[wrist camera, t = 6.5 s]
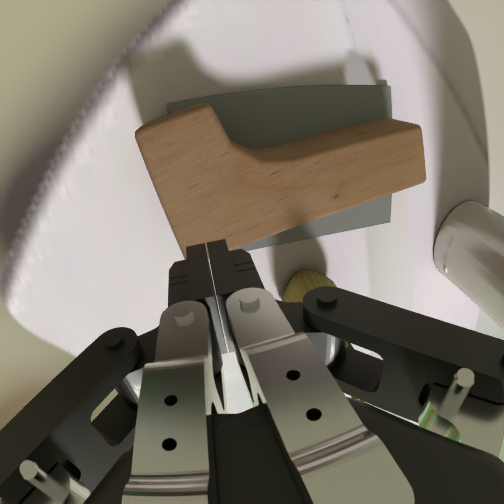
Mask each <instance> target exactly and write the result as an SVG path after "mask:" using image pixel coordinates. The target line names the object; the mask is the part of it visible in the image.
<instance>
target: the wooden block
mask: <svg viewBox="0 0 504 504" xmlns="http://www.w3.org/2000/svg"><path fill="white" fill-rule="evenodd" d="M135 139H136V141H137V144H138V147H139V149H140V152H141V154H142V157H143V160H144V162H145V165H146V167H147V170H148V172H149V175H150V177H151V180H152V182H153V185H154V187H155V190H156V192H157V195H158V197H159V200H160V202H161V204H162V207H163V209H164V212H165V214H166V216H167V219H168V221H169V224H170V226H171V228H172V231H173V233H174V235H175V238H176V240H177V242H178V244H179V247H180V249H181V251H182V254H183V256H184V258H185V260H187V258H186V247H187V246H192V245H197V244H202V243H205V246H206V251H207V256H208V258H209V254H208V248H207V243H206V242H211V241H216V240H221V239H225V240H226V243H227V246H228V249H229V250H232V249H235V248H237V247H240V246H243V245H246V244H249V243H252V242H254V241H257V240H260V239H263V238H266V237H269V236H271V235H274V234H277V233H280V232H283V231H285V230H288V229H291V228H294V227H297V226H300V225H302V224H305V223H308V222H311V221H314V220H317V219H320V218H322V217H325V216H328V215H331V214H334V213H337V212H340V211H343V210H345V209H348V208H351V207H354V206H357V205H360V204H363V203H366V202H369V201H371V200H374V199H377V198H380V197H383V196H386V195H389V194H392V193H395V192H397V191H401V190H403V189H406V188H409V187H412V186H415V185H418V184H421V183H424V182H425V180H426V171H425V158H424V148H423V138H422V130H421V127H420V126H419V125H417V124H413V123H408V122H404V121H399V120H395V119H390V118H384V119H379V120H375V121H370V122H366V123H362V124H358V125H353V126H349V127H345V128H341V129H337V130H334V131H330V132H326V133H322V134H318V135H315V136H311V137H307V138H304V139H300V140H297V141H293V142H290V143H286V144H283V145H280V146H276V147H263V148H247V147H245V146H243V145H241V144H239V143H237V142H235V141H233V140H231V139H229V137H228V135H227V133H226V131H225V130H224V128H223V126H222V124H221V122H220V120H219V118H218V117H217V115H216V113H215V111H214V109H213V108H212V107H211V106H210V105H209V104H203V103H199V104H196V105H193V106H190V107H188V108H185V109H182V110H179V111H176V112H174V113H171V114H168V115H166V116H163V117H160V118H158V119H155V120H153V121H150V122H147V123H146V124H144V125H143V126H141V127H140V128H139V129H137V130H136V131H135Z"/></svg>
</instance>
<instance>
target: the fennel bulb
mask: <svg viewBox="0 0 504 504" xmlns="http://www.w3.org/2000/svg"><path fill="white" fill-rule="evenodd" d="M322 286H332V287H336V285H335V284H334V282H333V281H331V280H330V279H329V278H328V277H326V276H325V275H323V274H320V273H318V272H316V271H312V270H301V271H298V272H296V274H295V275H293V277H292V279H291V281H290V283H289V284H288V285H287V288H286V290H285V292H284V294H283V298H282V302H303V297H304V295H305V294H306V293H307V292H308V291H310V290H312V289H314V288H317V287H322ZM347 347H350V348H352V349H354V348H353V347H352V345H351V343H350V342H348V345H347ZM351 397H352V398H353V399H356V400H360V399H357V398H355V397H353V396H351ZM360 401H362V400H360ZM363 402H365V401H363Z"/></svg>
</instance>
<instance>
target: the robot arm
mask: <svg viewBox="0 0 504 504" xmlns="http://www.w3.org/2000/svg"><path fill="white" fill-rule="evenodd" d="M206 243H207V248H208V254H209V259H210V265H211V270H212V275H213V280H212V275H211V270H210V265H209V261H208V256H207V251H206V246H205V243H202V244H197V245H192V246H187V247H186V258H187V260H182V261H177V262H174V264H173V265H172V267H171V268H170V269H169V287H168V308H167V309H166V310H165V311H164V312H163V313H162V315H161V318H160V324H159V326H158V327H157V328H155V329H153V330H151V331H149V332H147V333H144V334H142V335H140V336H137V335H136V333H135V332H134V331H133V330H132V329H130V328H126V327H119V328H114V329H111V330H108V331H106V332H105V333H103V334H102V335H101V336H99V337H98V338H97V339H96V340H95V341H94V342H93V343H92V344H91V345H89V346H88V347H87V348H86V349H85V350H84V351H83V352H82V353H81V354H80V355H79V356H78V357H76V358H75V359H74V360H73V361H72V362H71V363H70V364H69V365H68V366H67V367H66V368H65V369H64V370H62V372H60V374H58V375H57V376H56V377H55V378H54V379H53V380H52V381H51V382H50V383H49V384H48V385H47V386H46V387H45V388H43V389H42V391H40V392H39V393H38V394H37V395H36V396H35V397H34V398H33V399H32V400H31V401H30V402H29V403H28V404H27V405H26V406H25V407H24V408H23V409H22V410H21V411H20V412H19V413H18V414H17V415H16V416H15V417H14V418H13V419H12V420H11V421H10V422H9V423H8V424H7V425H6V426H5V427H4V428H3V429H2V430H1V431H0V504H504V463H503V461H501V460H500V459H499V458H498V455H499V452H500V449H501V445H502V441H503V437H504V340H501V339H498V338H495V337H492V336H489V335H485V334H482V333H479V332H476V331H473V330H469V329H466V328H463V327H460V326H457V325H453V324H450V323H447V322H444V321H441V320H438V319H434V318H431V317H428V316H425V315H422V314H419V313H415V312H412V311H409V310H406V309H403V308H400V307H396V306H393V305H390V304H387V303H384V302H381V301H378V300H375V299H372V298H368V297H365V296H362V295H359V294H356V293H353V292H350V291H347V290H344V289H340V288H337V287H332V286H322V287H317V288H314V289H312V290H310V291H308V292H307V293H306V294H305V295H304V297H303V302H282V301H278V300H276V299H274V297H273V295H272V294H271V293H270V292H269V291H267V290H265V288H264V286H263V284H262V281H261V279H260V277H259V274H258V272H257V270H256V267H255V265H254V263H253V260H252V258H251V256H250V254H249V253H248V252H246V251H245V250H243V249H237V250H232V251H229V249H228V246H227V243H226V240H225V239H221V240H216V241H211V242H206ZM434 262H435V265H436V268H437V269H438V270H439V272H440V273H442V274H443V275H444V276H445V277H446V278H448V279H449V280H450V281H451V282H452V283H453V284H454V285H456V286H457V287H458V288H459V289H460V290H461V291H462V292H463V293H464V294H466V295H467V296H468V297H469V298H470V299H471V300H472V301H473V302H474V303H476V304H477V305H478V306H479V307H480V308H481V309H482V310H483V311H484V312H485V313H486V314H487V315H488V316H490V317H491V318H492V319H493V320H494V321H495V322H496V323H497V324H498V325H499V326H500V327H501V328H502V329H503V330H504V216H502V215H501V214H499V213H497V212H495V211H493V210H492V209H490V208H488V207H486V206H484V205H482V204H481V203H479V202H477V201H472V200H471V201H466V202H464V203H461V204H460V205H458V206H457V207H456V208H455V209H454V210H453V211H452V212H451V213H450V214H449V215H448V217H447V218H446V219H445V221H444V222H443V224H442V226H441V228H440V230H439V233H438V235H437V238H436V242H435V246H434ZM213 281H214V284H213ZM214 286H215V289H214ZM215 291H216V294H215ZM216 296H217V299H216ZM217 300H218V304H217ZM218 305H219V310H220V314H221V318H222V323H223V327H224V332H225V336H226V340H227V344H228V349H229V352H234V351H235V352H236V356H237V360H238V365H239V369H240V372H241V375H242V378H243V381H244V383H245V386H246V389H247V392H248V394H249V397H250V400H251V403H252V405H253V408H251V409H249V410H246V411H244V412H242V413H238V414H227V405H226V395H225V384H224V374H223V369H222V365H223V362H222V357H221V354H224V353H227V349H226V344H225V339H224V334H223V329H222V325H221V320H220V315H219V310H218ZM348 342H350V343H352V344H355V345H357V346H360V347H363V348H365V349H368V350H371V351H373V352H376V353H377V354H379V355H380V356H381V357H382V358H383V360H381V359H378V358H375V357H373V356H370V355H368V354H365V353H362V352H360V351H357V350H355V349H352V348H350V347H347V345H348ZM114 388H115V389H116V391H117V392H118V395H117V396H116V397H115V398H114V399H113V400H112V401H111V402H110V403H109V404H108V405H107V406H106V407H105V409H104V410H103V411H102V412H101V413H100V414H99V415H98V416H97V417H96V418H95V419H94V420H93V421H92V422H91V415H92V413H93V411H94V410H95V408H96V407H97V406H98V405H99V404H100V403H101V402H102V401H103V400H104V399H105V398H106V397H107V396H108V395H109V394H110V393H111V391H113V389H114ZM343 392H344V393H346V394H348V395H351V396H353V397H355V398H357V399H360V400H362V401H360V400H356V399H353V398H349V397H346V396H345V395H344V393H343ZM363 401H365V402H367V403H369V404H367V403H365V402H363ZM370 404H372V405H374V406H377V407H379V408H382V409H384V410H386V411H389V412H392V413H394V414H396V415H399V416H401V417H404V418H407V419H409V420H412V421H415V422H417V423H419V426H418V425H415V424H413V423H410V422H408V421H405V420H403V419H401V418H399V417H396V416H394V415H392V414H389V413H387V412H385V411H383V410H380V409H378V408H376V407H374V406H372V405H370Z"/></svg>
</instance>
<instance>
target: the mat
mask: <svg viewBox="0 0 504 504" xmlns="http://www.w3.org/2000/svg"><path fill="white" fill-rule="evenodd" d="M199 103H203V104H209V105H210V106H211V107H212V108H213V109H214V111H215V113H216V115H217V117H218V118H219V120H220V122H221V124H222V126H223V128H224V130H225V131H226V133H227V135H228V137H229V139H231V140H233V141H235V142H237V143H239V144H241V145H243V146H245V147H247V148H263V147H276V146H280V145H283V144H286V143H290V142H293V141H297V140H300V139H304V138H307V137H311V136H315V135H318V134H322V133H326V132H330V131H334V130H337V129H341V128H345V127H349V126H353V125H358V124H362V123H366V122H370V121H375V120H379V119H384V118H390V119H392V103H391V86H382V85H322V86H300V87H285V88H273V89H262V90H252V91H244V92H236V93H228V94H221V95H214V96H208V97H201V98H196V99H190V100H184V101H179V102H174V103H169V104H167V107H168V113H169V114H171V113H174V112H176V111H179V110H182V109H185V108H188V107H190V106H193V105H196V104H199ZM391 197H392V194H389V195H386V196H383V197H380V198H377V199H374V200H371V201H369V202H366V203H363V204H360V205H357V206H354V207H351V208H348V209H345V210H343V211H340V212H337V213H334V214H331V215H328V216H325V217H322V218H320V219H317V220H314V221H311V222H308V223H305V224H302V225H300V226H297V227H294V228H291V229H288V230H285V231H283V232H280V233H277V234H274V235H271V236H269V237H266V238H263V239H260V240H257V241H254V242H252V243H249V244H246V245H243V246H240V247H237V248H235V249H232V250H237V249H243V250H245V251H249V250H254V249H259V248H264V247H269V246H274V245H279V244H284V243H289V242H294V241H299V240H304V239H309V238H314V237H319V236H324V235H329V234H334V233H339V232H344V231H349V230H354V229H359V228H364V227H369V226H374V225H378V224H384V223H389V222H390V216H391ZM232 250H229V251H232ZM208 259H209V258H208Z"/></svg>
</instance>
